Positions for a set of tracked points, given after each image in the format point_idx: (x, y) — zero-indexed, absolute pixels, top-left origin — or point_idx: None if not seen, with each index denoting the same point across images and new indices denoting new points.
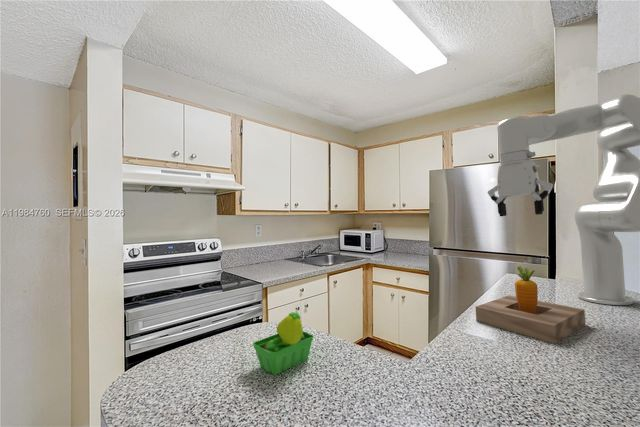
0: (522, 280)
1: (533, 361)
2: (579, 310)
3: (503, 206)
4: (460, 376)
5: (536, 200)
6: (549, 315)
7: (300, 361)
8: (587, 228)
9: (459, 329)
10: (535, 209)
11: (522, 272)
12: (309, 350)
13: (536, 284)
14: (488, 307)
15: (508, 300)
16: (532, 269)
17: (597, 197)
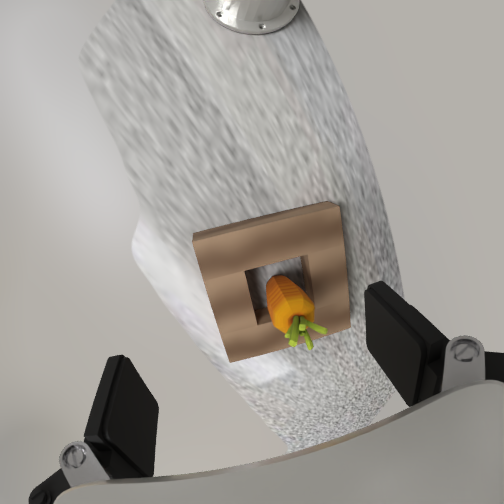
0: (291, 323)
1: (347, 368)
2: (338, 221)
3: (134, 441)
4: (325, 427)
5: (425, 398)
6: (326, 295)
7: None
8: None
9: (244, 384)
10: (384, 366)
11: (310, 349)
12: None
13: (314, 307)
14: (244, 348)
15: (226, 281)
16: (324, 332)
17: None
